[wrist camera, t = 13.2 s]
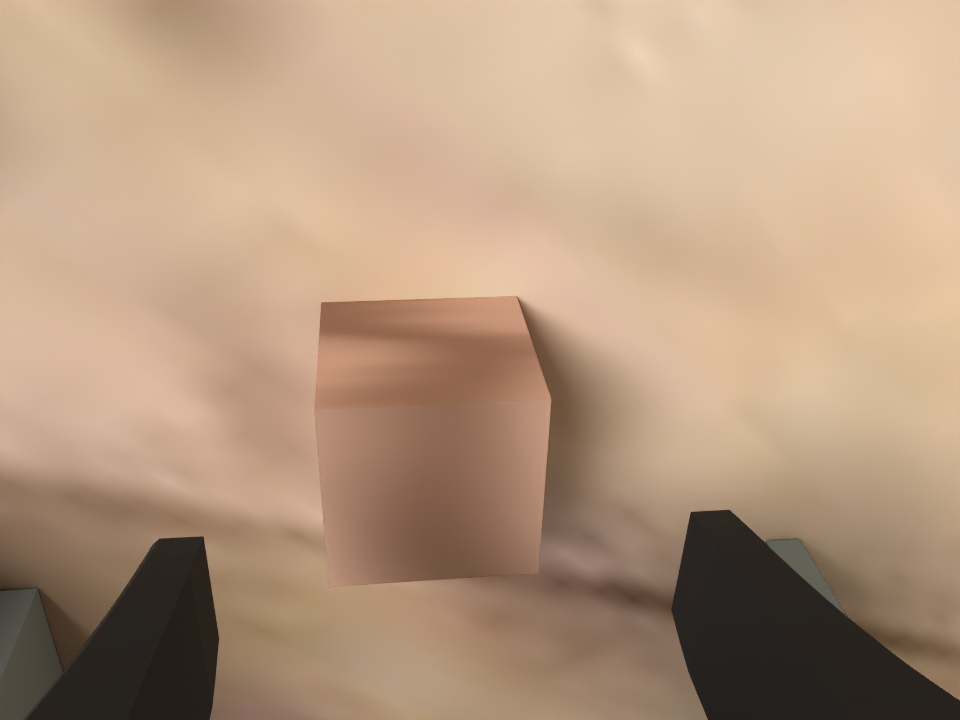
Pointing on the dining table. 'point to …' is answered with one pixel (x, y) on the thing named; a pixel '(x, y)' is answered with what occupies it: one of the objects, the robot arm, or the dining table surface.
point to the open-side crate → (35, 667)
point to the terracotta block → (430, 440)
